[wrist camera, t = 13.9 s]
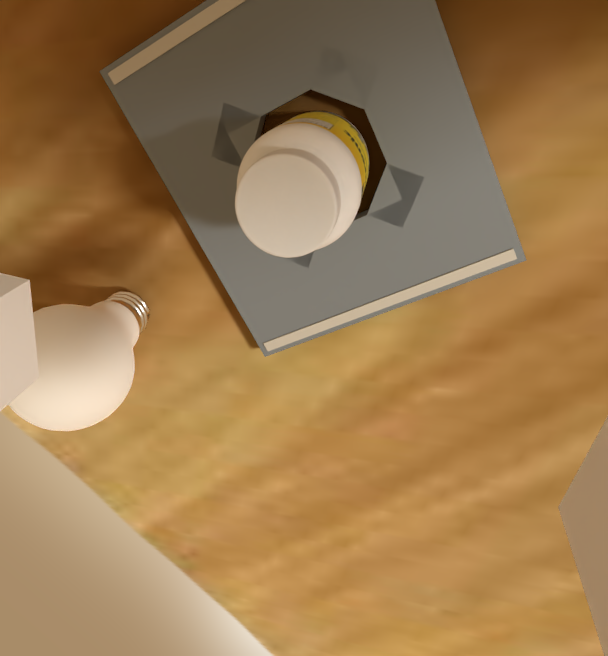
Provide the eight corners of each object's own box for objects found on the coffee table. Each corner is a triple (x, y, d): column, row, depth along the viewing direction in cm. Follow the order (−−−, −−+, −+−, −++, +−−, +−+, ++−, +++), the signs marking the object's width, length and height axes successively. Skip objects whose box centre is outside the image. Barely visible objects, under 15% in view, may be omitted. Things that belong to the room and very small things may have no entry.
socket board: (392, -116, 23) (391, -124, 22) (521, 252, 29) (526, 260, 28) (110, 70, 29) (98, 71, 27) (269, 347, 35) (264, 357, 33)
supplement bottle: (369, 214, 30) (353, 280, 21) (273, 211, 30) (220, 273, 22) (373, 108, 27) (357, 134, 19) (269, 108, 28) (207, 133, 19)
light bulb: (188, 274, 33) (98, 365, 24) (177, 362, 36) (93, 474, 27) (87, 245, 34) (-42, 323, 24) (84, 335, 37) (-31, 435, 27)
